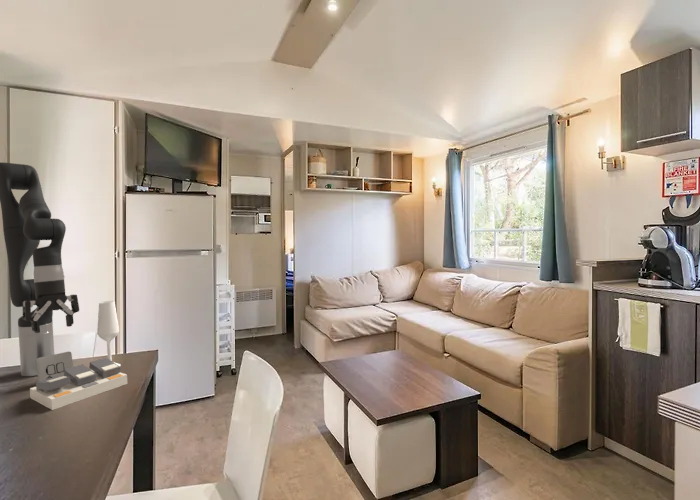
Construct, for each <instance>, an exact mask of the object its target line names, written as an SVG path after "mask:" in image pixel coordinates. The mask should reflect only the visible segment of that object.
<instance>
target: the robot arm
mask: <svg viewBox="0 0 700 500" xmlns="http://www.w3.org/2000/svg"><path fill="white" fill-rule="evenodd" d="M42 189H43V188H42V186H41V180H40V177H39V174H38V172H37V170H36V168H35V167H34V166H32V165H29V164H23V163H14V162H13V163H11V162H0V208H1V218H2V219H1V220H2V229H3V230H2V231H3V236H4V243H5V249H6V254H7V255H6V256H7V262H8V280H9V281H8V282H9V295H10V301H11V303H12V305H13V306H14V307H16V308H21V307H22V316H20V317H19V318H18V319H17V328H18V343H19V344H18V345H19V361H20V376H22V377H34V376H38V373H37V365H36V359H37V358H41V357H45V356H50V355H55V343H54V342H55V341H54V326H53V325H54V324H53V316H54V311H59V310H60V311H62V312H64V314H65V323H66V327H69V328H70V327H72V326H73V325H74V314H76V313H79V312H80V305H79V300H78V295H77V294H70V295H66V284H65V274H64V273H65V272H64V269H63V264H62V263H63V262H62V247H63V242H64V238H65V235H66V229H67V227H66V224H65V222H63V220H61V219H60V218H52V212H51V210H50V207H49V206H48V204H47V203H46V199H45V198H44V194H43V190H42ZM12 190H17V191H19V190H20V191H26V192H25V193H24V194H23V195H22V196H21V198H20V199H19V202H18V200H17V199H16V197H15V195H14V193H13V191H12ZM41 241H50V244H48V245H47V246H42V247H39V245H40V242H41ZM31 258H32V260H33V261H32V262H33V263H32V264H33V278H29V279H28V278H27V279H25V278H24V275H25V274H24V273H25V270H26V269H25V268H26V266H27V265H28V263H29V261H30V259H31ZM67 301H68V302H70V306H71V309H70V307H69V306H67V304H65V303H67ZM33 306H37V307H36V308H35V309H33V310H32V308H33ZM31 310H32V311H31Z"/></svg>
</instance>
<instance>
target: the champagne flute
mask: <svg viewBox="0 0 700 500" xmlns="http://www.w3.org/2000/svg"><path fill="white" fill-rule="evenodd" d="M97 314H98V315H97V317H98V318H97V329H96V330H97V332H96V335H97V336H98V337H99V338H100V339H101V340H103V341H104V342H106V352H107V358H108V359H109V360H111V361H112V362H114V363H115V364H117V365H118V366H120V367H121V363H117V362H115V361H113V360H112V358H113V357H112V342H111V341H113V340H114V339H115V338H116V337H117V335H118V334H119V332H120V326H119V320H118V314H117V309H116V301H114V300H106V301H100V302H99V303H98V313H97Z"/></svg>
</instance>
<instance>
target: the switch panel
mask: <svg viewBox="0 0 700 500" xmlns="http://www.w3.org/2000/svg"><path fill="white" fill-rule="evenodd" d="M90 370H91V369H90ZM91 371H93V370H91ZM93 372H94V371H93ZM94 373H96V372H94ZM96 374H97V373H96ZM127 384H129V383H128V375H127V374H126V373H124V372H121V371H120V373H117V374H114V375H111V376H108V377H105V378H103V377H101V376H100V375H98V374H97V375H96V380H95V381H92V382H89V383H86V384H83V385H80V386H77V385H75V384H74V383H73V382H72V381H70V384H68V385H64V386H61V387H58V388H55V389H51V390H41V389H36V386H33V387H30V388H29V394H30V395H29V396H30V397H29V398H30V399H31V400H33V401H35V402H37V403H38V404H41V405H42V406H44V407H46V408H48V409H49V410H51V411H54V410H57V409H60V408H63V407H65V406H68V405H71V404H74V403H76V402H79V401H82V400H86V399H88V398H91V397H94V396H96V395H99V394H102V393H104V392H105V393H106V392H108V391H111V390H114V389H117V388H119V387H122V386H125V385H127Z"/></svg>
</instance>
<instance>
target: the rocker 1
mask: <svg viewBox="0 0 700 500" xmlns="http://www.w3.org/2000/svg"><path fill="white" fill-rule="evenodd" d="M68 384H70V380H69V377H67V376H62V377H58V376H56V377H52V378H50V377H48V378H47V379H45V380H42V381H38V380H37V381H35V387H36V389H41V390H51V389H55V388H58V387H61V386H64V385H68Z"/></svg>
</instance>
